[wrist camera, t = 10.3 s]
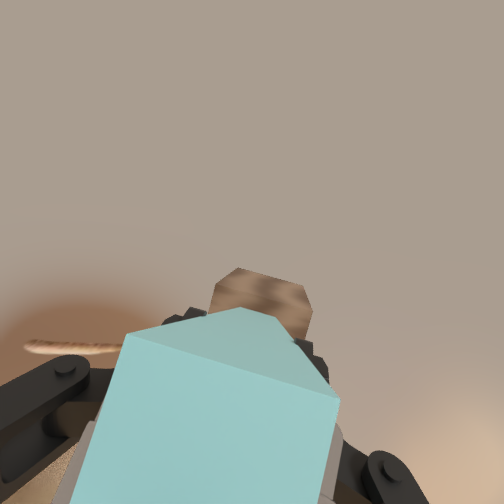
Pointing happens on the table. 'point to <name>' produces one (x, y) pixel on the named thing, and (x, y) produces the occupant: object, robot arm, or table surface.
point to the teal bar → (211, 417)
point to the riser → (264, 299)
